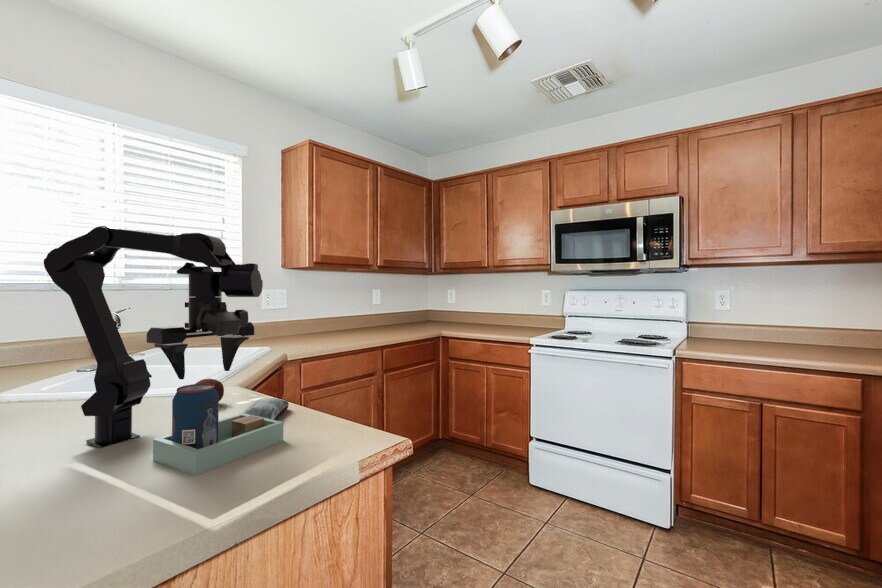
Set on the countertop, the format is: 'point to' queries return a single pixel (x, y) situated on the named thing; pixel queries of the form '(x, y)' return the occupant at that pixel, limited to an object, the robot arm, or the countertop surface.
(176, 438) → the soda can
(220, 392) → the potato
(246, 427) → the walnut block
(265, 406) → the packaged food
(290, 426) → the countertop surface
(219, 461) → the tray
